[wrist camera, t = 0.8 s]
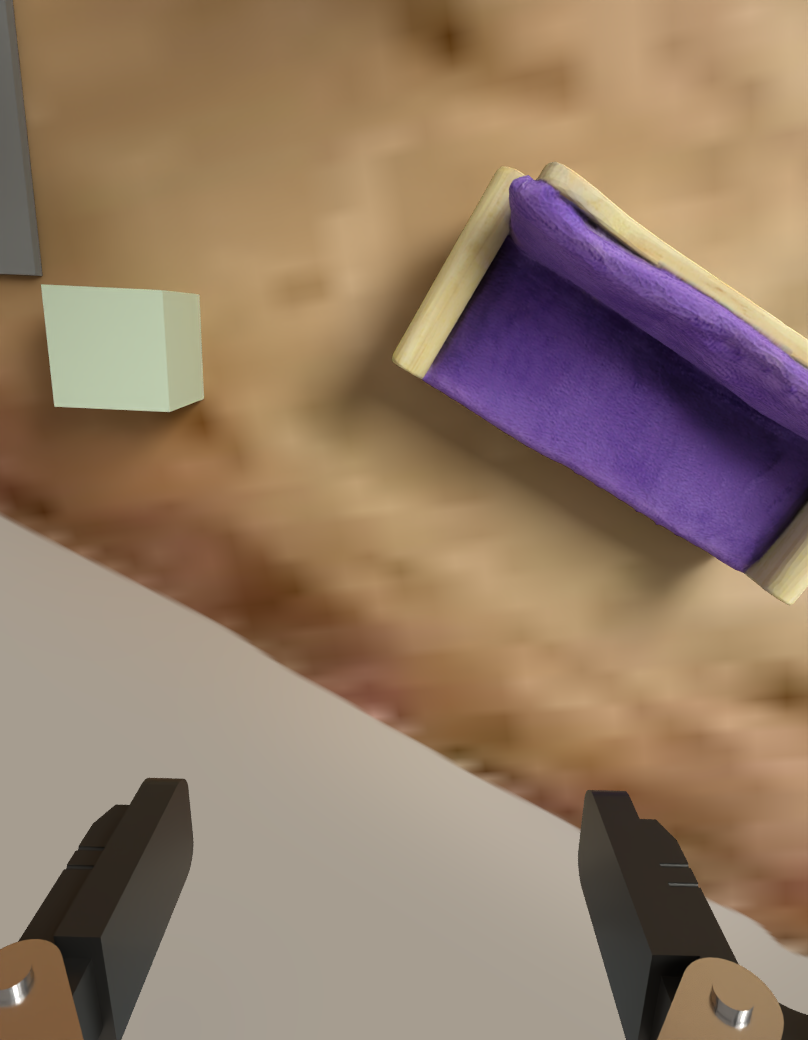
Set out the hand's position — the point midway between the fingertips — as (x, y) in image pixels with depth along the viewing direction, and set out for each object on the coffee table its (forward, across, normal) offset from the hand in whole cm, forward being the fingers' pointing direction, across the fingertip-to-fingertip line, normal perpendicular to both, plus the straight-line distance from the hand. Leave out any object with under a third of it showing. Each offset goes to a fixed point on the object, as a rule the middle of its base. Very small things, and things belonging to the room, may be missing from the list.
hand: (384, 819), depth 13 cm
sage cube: (+23, +13, -8) cm, 27 cm away
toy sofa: (+23, -10, -6) cm, 26 cm away
